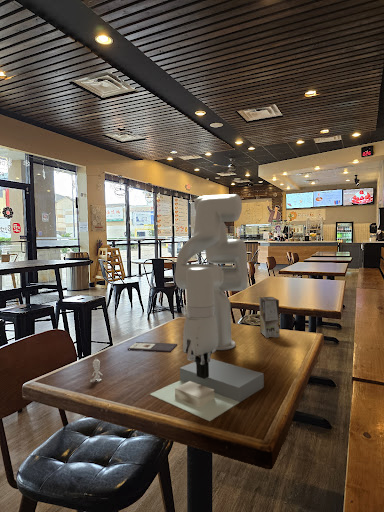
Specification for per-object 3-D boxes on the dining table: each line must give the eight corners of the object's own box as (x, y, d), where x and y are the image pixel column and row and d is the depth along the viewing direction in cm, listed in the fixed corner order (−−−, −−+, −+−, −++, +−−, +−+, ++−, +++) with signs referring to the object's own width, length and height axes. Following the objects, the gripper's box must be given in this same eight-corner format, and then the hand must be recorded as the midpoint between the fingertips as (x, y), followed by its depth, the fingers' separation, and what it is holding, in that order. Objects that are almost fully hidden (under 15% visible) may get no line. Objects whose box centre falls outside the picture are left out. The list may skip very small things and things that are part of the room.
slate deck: (180, 380, 105) (179, 367, 105) (206, 369, 114) (205, 357, 114) (239, 402, 90) (238, 387, 90) (263, 387, 99) (263, 373, 98)
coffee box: (280, 337, 146) (279, 300, 145) (265, 338, 146) (264, 300, 145) (273, 331, 155) (272, 296, 155) (259, 332, 155) (258, 297, 154)
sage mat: (149, 394, 96) (149, 393, 96) (180, 380, 105) (180, 380, 105) (209, 421, 81) (209, 420, 81) (239, 402, 90) (239, 401, 90)
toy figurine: (108, 376, 110) (107, 354, 110) (99, 387, 102) (98, 363, 102) (92, 376, 111) (91, 354, 110) (82, 387, 103) (80, 363, 102)
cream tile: (190, 380, 98) (190, 389, 98) (174, 388, 94) (175, 397, 94) (214, 389, 92) (214, 398, 92) (199, 397, 88) (199, 407, 88)
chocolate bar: (170, 350, 132) (127, 348, 136) (170, 353, 132) (127, 351, 136) (177, 343, 141) (136, 342, 145) (177, 346, 141) (136, 344, 145)
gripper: (208, 305, 103) (209, 365, 104) (171, 314, 92) (174, 382, 93) (228, 308, 98) (229, 371, 99) (192, 318, 87) (194, 389, 88)
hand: (202, 376), depth 96 cm, fingers closed
